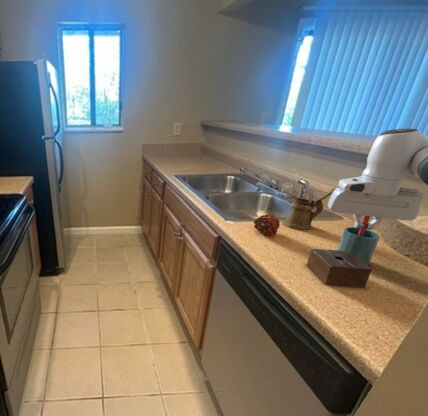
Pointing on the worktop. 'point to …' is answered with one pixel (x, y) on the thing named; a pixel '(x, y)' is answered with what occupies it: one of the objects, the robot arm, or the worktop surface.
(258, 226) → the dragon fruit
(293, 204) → the wooden mug
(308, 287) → the worktop surface
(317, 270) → the block
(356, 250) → the cup
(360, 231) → the straw
